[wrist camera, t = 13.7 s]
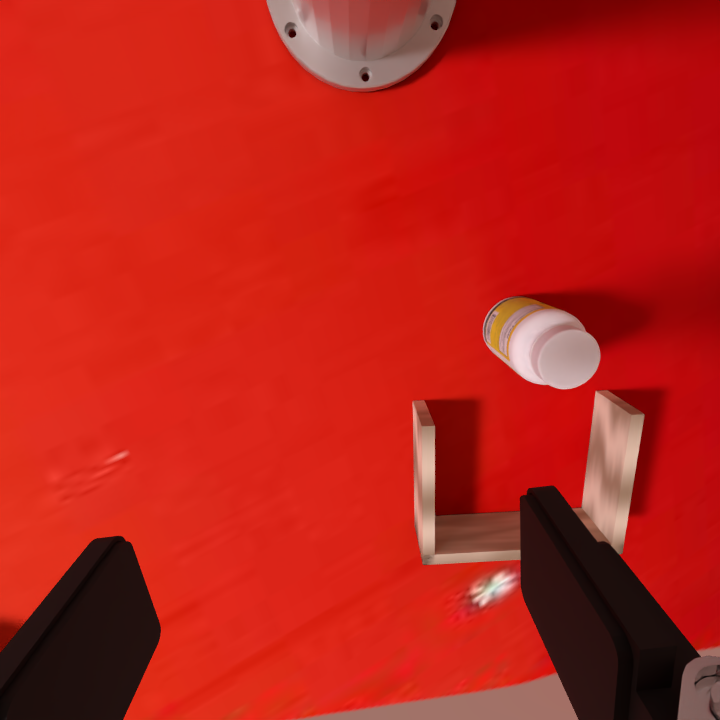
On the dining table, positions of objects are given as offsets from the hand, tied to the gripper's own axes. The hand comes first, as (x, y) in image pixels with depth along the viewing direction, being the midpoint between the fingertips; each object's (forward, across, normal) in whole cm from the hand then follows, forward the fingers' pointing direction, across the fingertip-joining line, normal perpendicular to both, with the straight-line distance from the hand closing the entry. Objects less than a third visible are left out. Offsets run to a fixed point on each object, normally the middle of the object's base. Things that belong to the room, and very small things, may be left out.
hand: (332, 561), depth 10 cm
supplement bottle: (+26, -14, +2) cm, 30 cm away
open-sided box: (+26, -13, +15) cm, 33 cm away
